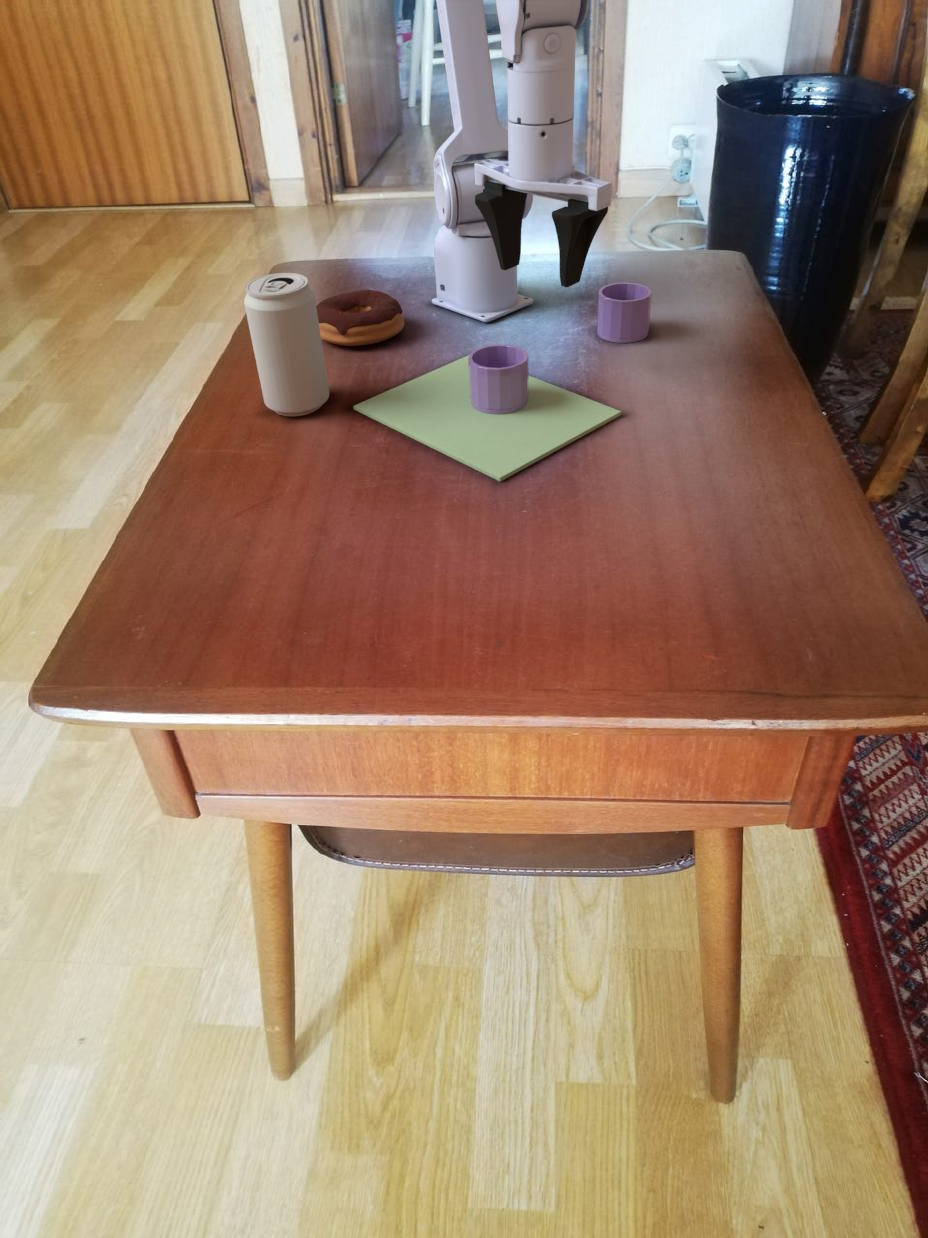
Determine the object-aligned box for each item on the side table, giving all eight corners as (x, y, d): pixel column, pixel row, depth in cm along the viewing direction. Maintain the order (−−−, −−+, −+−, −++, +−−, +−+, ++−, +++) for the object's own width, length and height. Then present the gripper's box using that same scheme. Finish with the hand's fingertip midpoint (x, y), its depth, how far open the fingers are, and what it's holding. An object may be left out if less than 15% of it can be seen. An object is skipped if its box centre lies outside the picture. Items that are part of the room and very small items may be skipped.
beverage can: (341, 393, 92) (324, 272, 85) (312, 423, 88) (291, 297, 80) (284, 387, 94) (262, 267, 86) (253, 415, 89) (227, 292, 82)
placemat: (353, 409, 89) (353, 405, 89) (472, 356, 98) (472, 353, 97) (500, 481, 78) (499, 477, 78) (621, 415, 86) (621, 411, 86)
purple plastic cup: (475, 387, 91) (474, 343, 88) (531, 389, 90) (531, 345, 87) (466, 413, 87) (463, 368, 84) (524, 415, 86) (523, 370, 83)
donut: (400, 313, 108) (397, 278, 105) (409, 346, 100) (406, 310, 98) (314, 322, 107) (308, 287, 105) (316, 356, 100) (311, 320, 97)
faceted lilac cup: (586, 333, 101) (588, 292, 98) (618, 318, 104) (621, 278, 101) (626, 347, 98) (629, 305, 95) (658, 331, 100) (662, 290, 98)
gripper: (636, 118, 79) (625, 278, 87) (508, 100, 87) (510, 248, 95) (585, 135, 75) (579, 301, 83) (456, 115, 83) (463, 268, 91)
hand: (539, 275), depth 89 cm, fingers open, 7 cm apart
